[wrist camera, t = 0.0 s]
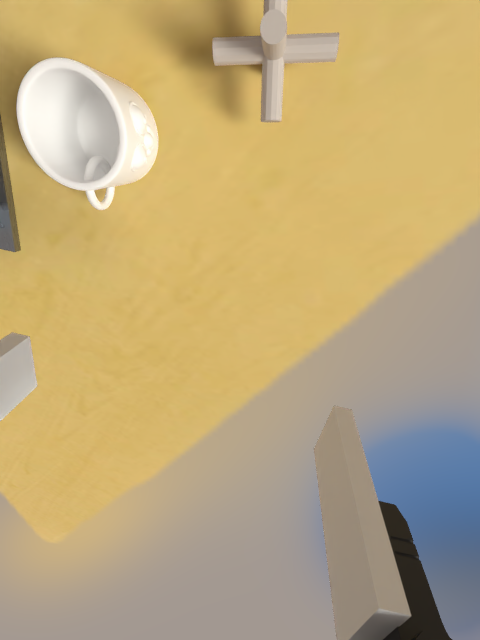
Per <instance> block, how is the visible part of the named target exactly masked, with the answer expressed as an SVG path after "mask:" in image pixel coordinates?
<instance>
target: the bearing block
mask: <svg viewBox="0 0 480 640" xmlns="http://www.w3.org/2000/svg"><path fill="white" fill-rule="evenodd" d="M0 249H3V250H8V251H12V252H17V251H20V250H21V249H20V242H19V235H18V229H17V222H16V215H15V209H14V202H13V195H12V189H11V182H10V175H9V169H8V162H7V155H6V149H5V142H4V136H3V129H2V122H1V116H0Z"/></svg>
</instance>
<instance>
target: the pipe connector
mask: <svg viewBox="0 0 480 640" xmlns="http://www.w3.org/2000/svg"><path fill="white" fill-rule="evenodd" d="M286 18H287V0H264V16H263V18H262V21H261V25H260V32H261V36H243V37H218V38H213V45H212V49H213V60H214V64H215V66H217V65H249V64H262V96H261V122H280V121H281V116H282V97H283V77H284V65H285V63H313V62H335V60H336V57H337V51H338V44H339V33H317V34H292V35H286V34H287V21H286Z"/></svg>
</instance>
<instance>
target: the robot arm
mask: <svg viewBox="0 0 480 640" xmlns="http://www.w3.org/2000/svg"><path fill="white" fill-rule="evenodd" d="M36 387H37V380H36V374H35V368H34V361H33V355H32V349H31V342H30V336H26V335H21V334H17V333H10V334H9V335H7V336H6V337H4V338H3V339H1V340H0V421H1V420H2V419H3V418H4V417H5V416H6V415H7V414H8V413H9V412H10V411H11V410H13V409H14V408H15V407H16V406H17V405H18V404H19V403H20V402H21V401H22V400H23V399H24V398H25V397H26V396H27V395H28V394H29V393H30V392H32V391H33V390H34V389H35V388H36ZM314 454H315V462H316V471H317V479H318V487H319V496H320V503H321V512H322V521H323V529H324V537H325V545H326V554H327V562H328V570H329V579H330V587H331V595H332V603H333V612H334V619H335V620H334V621H335V629H336V637H337V640H452V639H451V638H450V637H449V636H448V634H447V632H446V630H445V628H444V626H443V623H442V621H441V618H440V615H439V612H438V610H437V607H436V604H435V601H434V598H433V595H432V592H431V590H430V587H429V584H428V581H427V578H426V575H425V572H424V570H423V567H422V564H421V561H420V560H419V555H418V553H417V550H416V547H415V545H414V544H413V538H412V535H411V533H410V530H409V527H408V524H407V522H406V520H405V519H404V517H403V516H402V514H401V513H400V511H399V510H398V508H397V507H396V505H394V504H390V503H385V502H381V501H378V499H377V495H376V492H375V488H374V485H373V482H372V478H371V474H370V471H369V467H368V464H367V461H366V457H365V454H364V451H363V447H362V443H361V440H360V436H359V433H358V429H357V427H356V423H355V419H354V416H353V412H352V410H351V409H347V408H343V407H338V406H333V409H332V411H331V413H330V415H329V417H328V420H327V422H326V424H325V426H324V428H323V430H322V433H321V435H320V437H319V439H318V441H317V444H316V446H315V448H314Z"/></svg>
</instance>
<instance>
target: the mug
mask: <svg viewBox="0 0 480 640" xmlns="http://www.w3.org/2000/svg"><path fill="white" fill-rule="evenodd" d="M16 110H17V120H18V125H19V129H20V133H21V136H22V138H23V141H24V143H25V145H26V147H27V149H28V151H29V153H30V154H31V156H32V157H33V159H34V160H35V162H36V163H37V164H38V165H39V167H40V168H41V169H42V170H43V171H44V172H45V173H46V174H47V175H49V176H50V177H51V178H52V179H54V180H55V181H57V182H59V183H60V184H62V185H64V186H67V187H69V188H72V189H76V190H83V191H85V192H86V195H87V198H88V200H89V202H90V203H91V205H92V206H93V207H94V208H96V209H98V210H104V209H106V208H108V207H109V205H110V204H111V202H112V200H113V196H114V189H115V186H120V185H125V184H129V183H133V182H135V181H137V180H139V179H141V178H142V177H144V176H145V175H146V174H147V173H148V172H149V170H150V169H151V167H152V166H153V164H154V162H155V159H156V156H157V151H158V132H157V127H156V123H155V120H154V117H153V115H152V113H151V111H150V109H149V107H148V106H147V104H146V103H145V101H144V100H143V99H142V98H141V96H140V95H139V94H138V93H137V92H135V91H134V90H133V89H132V88H130V87H129V86H127V85H126V84H124V83H122V82H120V81H118V80H116V79H114V78H112V77H110V76H108V75H106V74H104V73H102V72H100V71H97V70H95V69H93V68H91V67H89V66H87V65H85V64H83V63H80V62H78V61H75V60H72V59H68V58H60V57H57V58H49V59H45V60H43V61H40V62H39V63H37V64H35V65H34V66H33V67H32V68H31V69H30V70H29V71H28V72H27V73H26V75H25V76H24V78H23V80H22V82H21V84H20V87H19V91H18V95H17V105H16ZM103 188H106V194H105V197H104V199H103V201H101V202H99V201H98V199H97V197H96V195H95V191H94V190H98V189H103Z"/></svg>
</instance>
